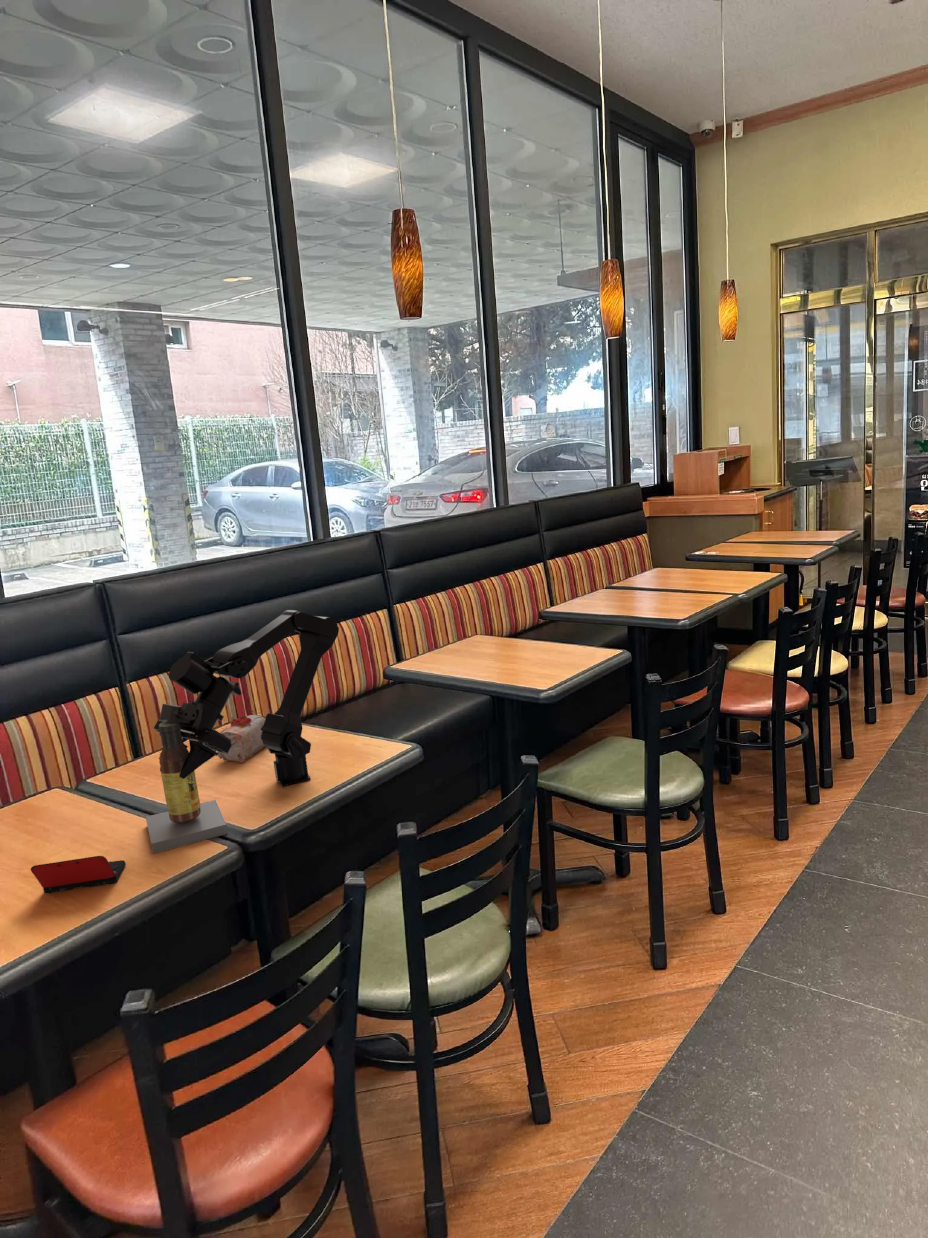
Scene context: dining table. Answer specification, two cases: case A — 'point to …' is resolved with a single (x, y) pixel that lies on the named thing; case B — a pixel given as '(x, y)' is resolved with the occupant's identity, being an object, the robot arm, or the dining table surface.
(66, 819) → the dining table surface
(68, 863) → the handheld game console
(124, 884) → the dining table surface
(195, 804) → the sauce bottle
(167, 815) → the stand
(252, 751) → the food item
